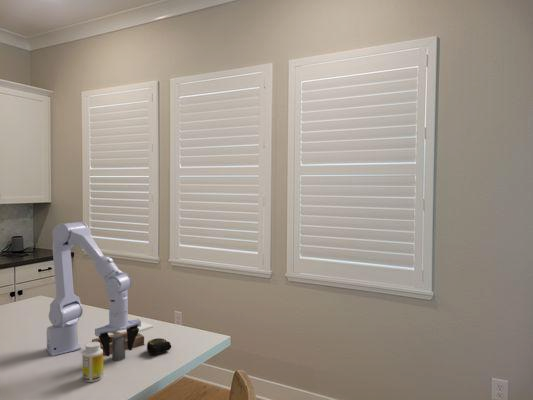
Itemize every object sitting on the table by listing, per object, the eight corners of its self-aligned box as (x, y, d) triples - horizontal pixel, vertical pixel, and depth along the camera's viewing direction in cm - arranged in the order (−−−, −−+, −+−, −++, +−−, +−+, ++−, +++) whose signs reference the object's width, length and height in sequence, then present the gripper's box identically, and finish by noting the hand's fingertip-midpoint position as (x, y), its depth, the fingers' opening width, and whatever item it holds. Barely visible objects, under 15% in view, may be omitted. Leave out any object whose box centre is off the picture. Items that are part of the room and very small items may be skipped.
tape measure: (153, 358, 133) (153, 347, 133) (143, 352, 138) (143, 341, 138) (171, 352, 138) (171, 341, 138) (161, 346, 143) (161, 336, 143)
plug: (114, 361, 130) (114, 340, 130) (110, 357, 133) (110, 336, 133) (127, 358, 133) (126, 337, 132) (122, 354, 136) (122, 333, 135)
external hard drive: (152, 329, 161) (125, 338, 151) (140, 324, 166) (112, 333, 156) (152, 325, 161) (125, 334, 151) (140, 320, 166) (112, 329, 156)
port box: (101, 356, 134) (100, 346, 134) (92, 347, 141) (92, 338, 141) (144, 344, 144) (144, 336, 144) (133, 337, 151) (133, 329, 150)
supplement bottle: (105, 373, 122) (105, 340, 121) (99, 382, 116) (99, 347, 116) (86, 374, 121) (86, 340, 121) (79, 383, 116) (79, 348, 115)
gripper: (99, 319, 124) (100, 362, 125) (144, 309, 134) (144, 350, 134) (92, 313, 130) (92, 355, 130) (136, 305, 139) (136, 343, 140)
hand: (118, 352), depth 133 cm, fingers open, 7 cm apart
